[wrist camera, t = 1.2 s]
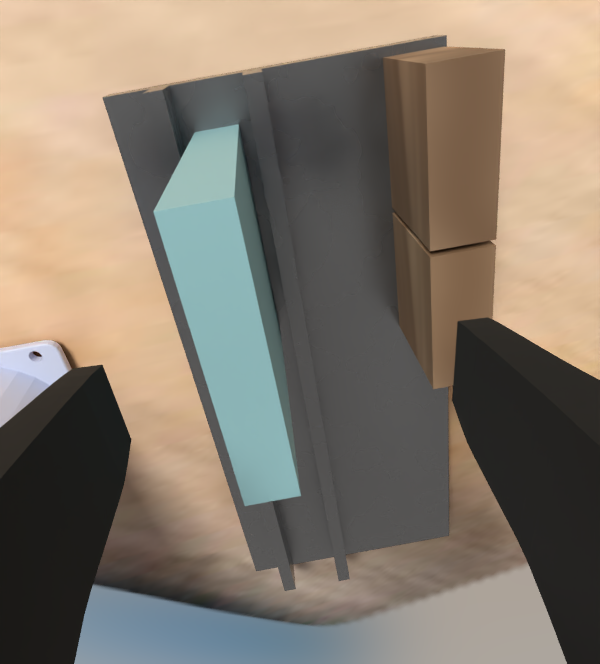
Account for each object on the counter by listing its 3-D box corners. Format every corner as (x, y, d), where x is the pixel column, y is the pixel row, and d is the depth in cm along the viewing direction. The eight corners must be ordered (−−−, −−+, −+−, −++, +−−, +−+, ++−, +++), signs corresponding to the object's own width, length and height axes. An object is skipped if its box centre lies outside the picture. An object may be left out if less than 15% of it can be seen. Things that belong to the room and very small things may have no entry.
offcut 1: (391, 207, 19) (430, 251, 15) (382, 57, 16) (425, 63, 13) (444, 198, 19) (496, 239, 15) (443, 46, 16) (505, 49, 13)
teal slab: (244, 333, 21) (244, 506, 13) (194, 132, 17) (153, 211, 9) (280, 327, 21) (300, 495, 13) (238, 124, 17) (234, 197, 9)
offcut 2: (399, 326, 22) (433, 389, 18) (392, 212, 19) (430, 257, 15) (445, 317, 22) (489, 378, 18) (444, 203, 19) (495, 245, 15)
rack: (255, 555, 30) (256, 596, 28) (109, 94, 17) (90, 102, 15) (442, 521, 30) (458, 558, 28) (436, 35, 17) (464, 35, 15)
